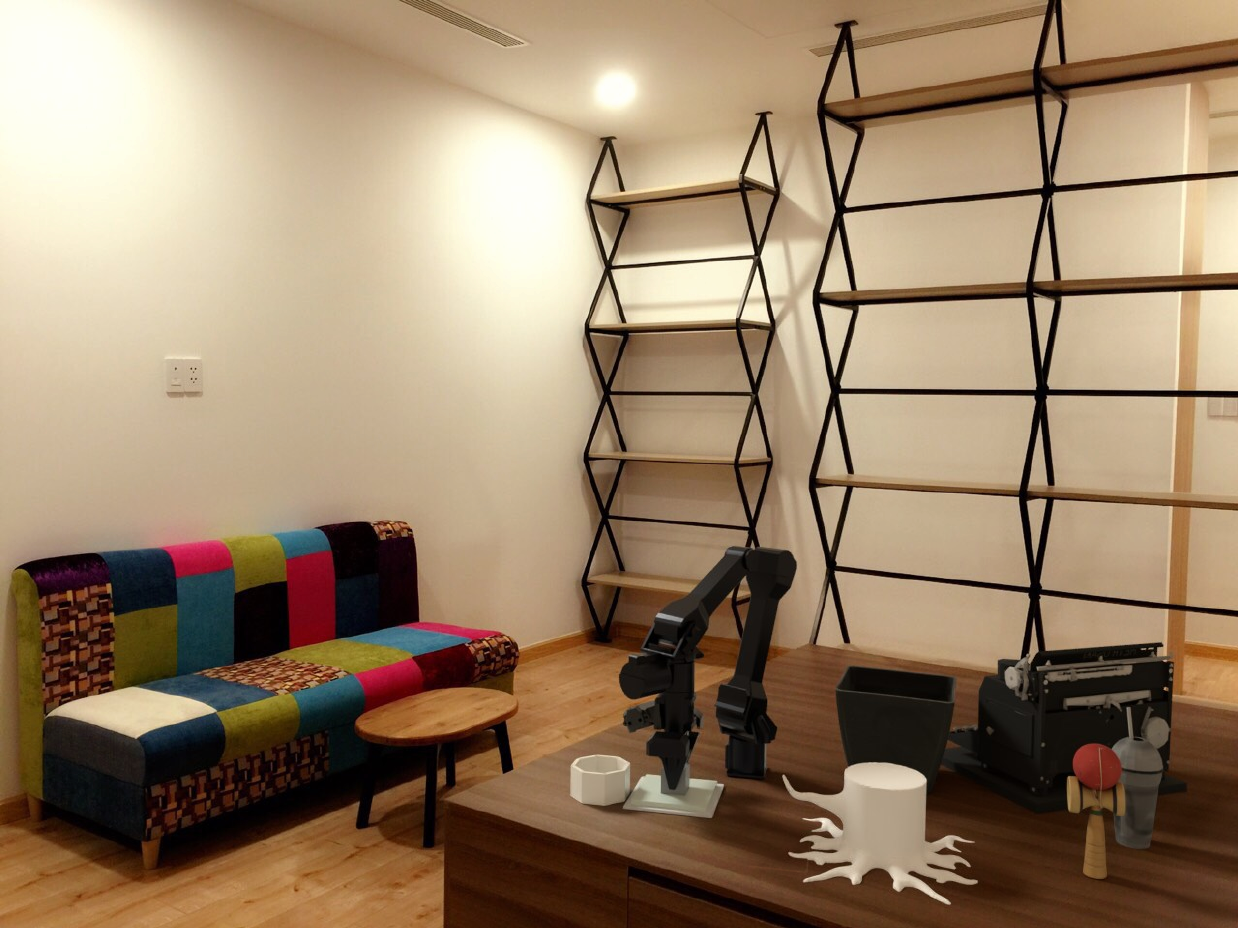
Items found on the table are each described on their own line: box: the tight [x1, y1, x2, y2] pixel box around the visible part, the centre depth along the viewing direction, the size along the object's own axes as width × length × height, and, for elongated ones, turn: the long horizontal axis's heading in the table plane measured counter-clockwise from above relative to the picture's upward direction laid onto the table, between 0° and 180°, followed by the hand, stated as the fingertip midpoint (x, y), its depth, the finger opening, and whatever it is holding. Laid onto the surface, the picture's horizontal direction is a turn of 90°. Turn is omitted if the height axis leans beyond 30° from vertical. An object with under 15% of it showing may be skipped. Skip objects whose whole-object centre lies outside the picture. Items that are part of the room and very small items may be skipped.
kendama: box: [1067, 744, 1125, 880], centre depth 137 cm, size 8×6×18 cm
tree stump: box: [782, 762, 978, 906], centre depth 145 cm, size 28×28×11 cm
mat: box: [622, 776, 725, 819], centre depth 165 cm, size 14×14×1 cm
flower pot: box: [835, 665, 957, 795], centre depth 175 cm, size 19×19×17 cm
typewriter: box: [941, 641, 1188, 815], centre depth 177 cm, size 31×27×25 cm
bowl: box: [569, 754, 631, 807], centre depth 165 cm, size 9×9×5 cm
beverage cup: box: [1112, 707, 1164, 850], centre depth 148 cm, size 7×7×20 cm
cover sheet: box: [631, 762, 718, 812], centre depth 164 cm, size 12×12×5 cm
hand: (675, 783), depth 164 cm, fingers open, 5 cm apart
